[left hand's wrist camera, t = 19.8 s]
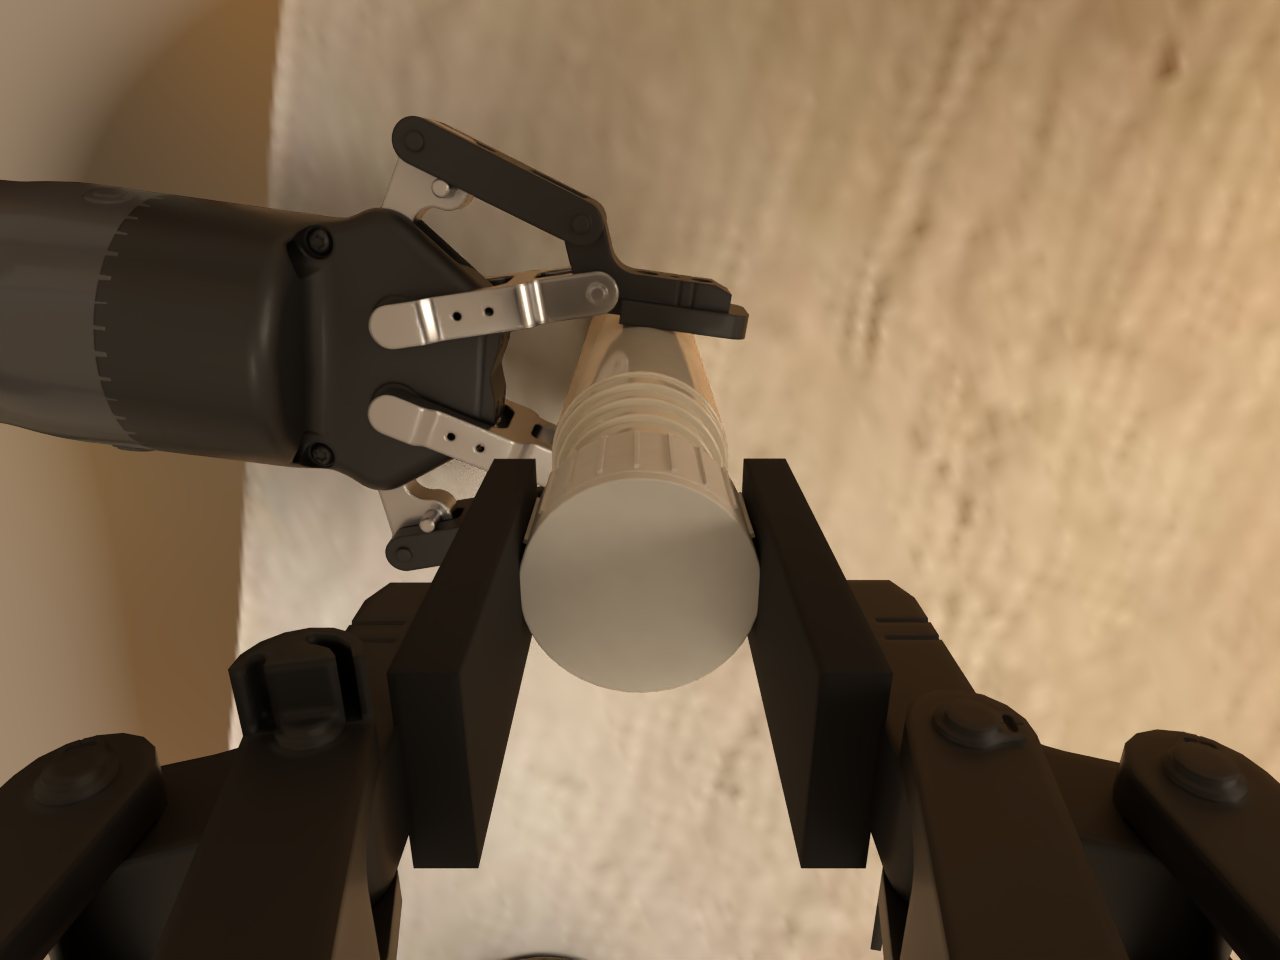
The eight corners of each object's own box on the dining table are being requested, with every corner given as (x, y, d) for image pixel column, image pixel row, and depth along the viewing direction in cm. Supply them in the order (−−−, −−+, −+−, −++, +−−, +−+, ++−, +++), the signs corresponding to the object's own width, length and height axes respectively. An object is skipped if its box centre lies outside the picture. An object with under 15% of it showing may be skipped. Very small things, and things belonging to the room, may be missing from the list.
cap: (728, 631, 15) (742, 707, 13) (526, 610, 15) (506, 683, 13) (764, 441, 14) (787, 491, 12) (541, 415, 14) (523, 461, 12)
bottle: (600, 276, 30) (544, 430, 12) (705, 303, 30) (797, 492, 12) (576, 378, 31) (495, 649, 13) (676, 403, 31) (722, 699, 14)
